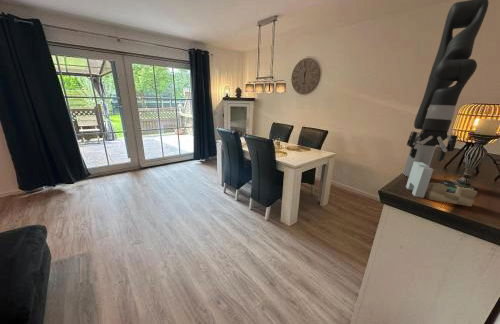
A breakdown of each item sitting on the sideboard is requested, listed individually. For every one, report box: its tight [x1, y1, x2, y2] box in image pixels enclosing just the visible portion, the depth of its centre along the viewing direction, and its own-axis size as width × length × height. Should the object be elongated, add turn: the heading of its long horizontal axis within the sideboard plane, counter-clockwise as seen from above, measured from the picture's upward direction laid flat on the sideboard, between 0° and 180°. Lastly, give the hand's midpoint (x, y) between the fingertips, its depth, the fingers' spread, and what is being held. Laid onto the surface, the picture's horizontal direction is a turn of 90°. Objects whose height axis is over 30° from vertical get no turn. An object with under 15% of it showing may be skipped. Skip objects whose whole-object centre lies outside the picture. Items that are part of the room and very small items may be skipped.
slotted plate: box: [405, 161, 434, 199], centre depth 83 cm, size 10×3×12 cm, turn 160°
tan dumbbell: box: [425, 181, 478, 207], centre depth 77 cm, size 3×13×6 cm, turn 70°
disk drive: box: [437, 179, 476, 194], centre depth 89 cm, size 10×3×15 cm
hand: (425, 159), depth 80 cm, fingers open, 8 cm apart
